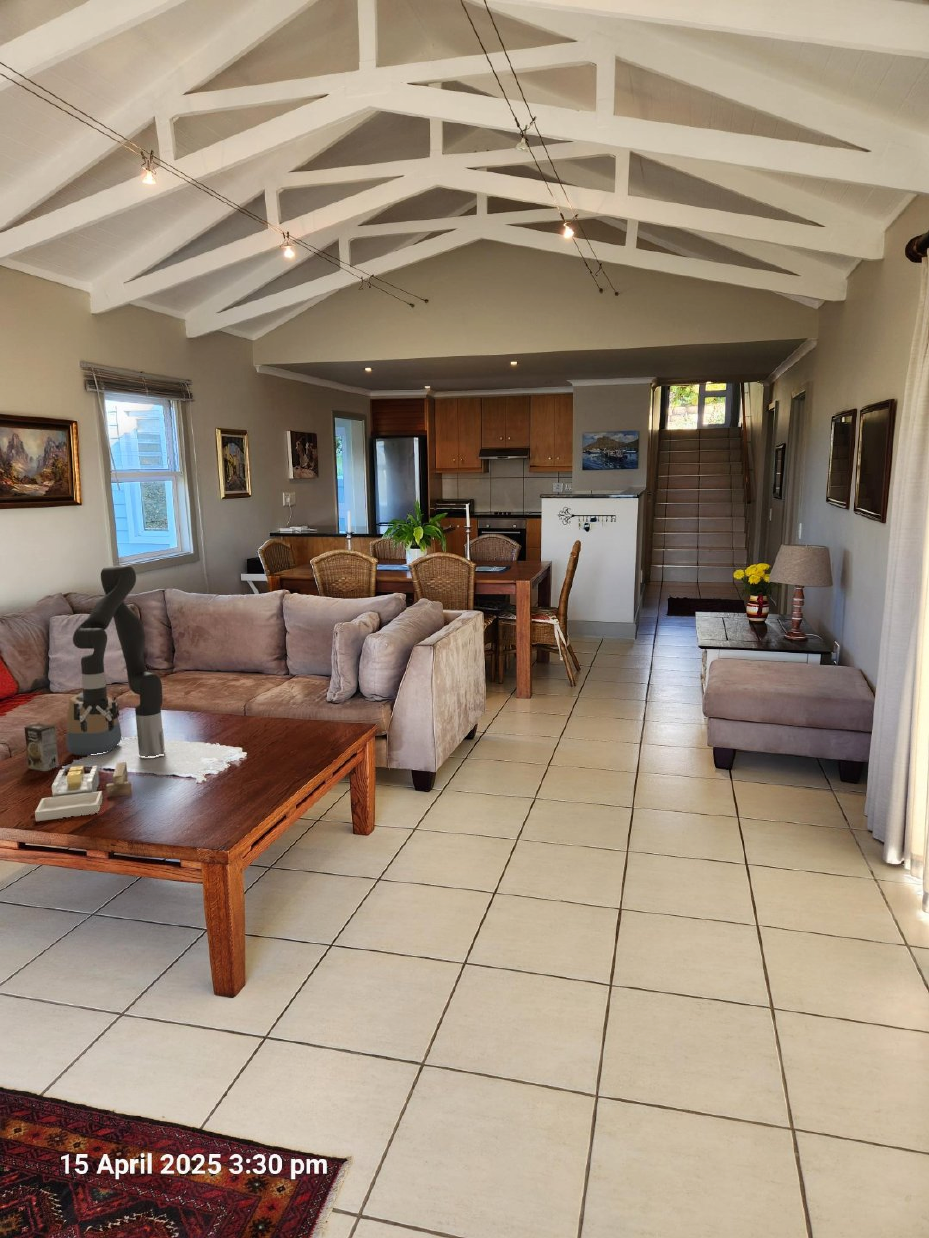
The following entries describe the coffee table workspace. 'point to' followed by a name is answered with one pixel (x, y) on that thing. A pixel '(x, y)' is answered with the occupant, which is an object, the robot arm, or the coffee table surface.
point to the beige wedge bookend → (119, 782)
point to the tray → (68, 806)
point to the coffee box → (41, 746)
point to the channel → (87, 786)
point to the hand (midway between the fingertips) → (97, 731)
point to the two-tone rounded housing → (90, 731)
